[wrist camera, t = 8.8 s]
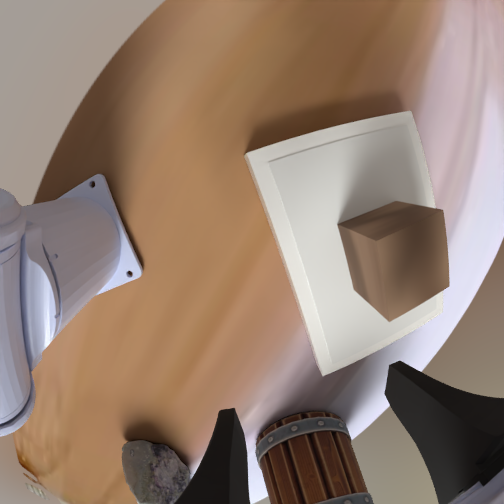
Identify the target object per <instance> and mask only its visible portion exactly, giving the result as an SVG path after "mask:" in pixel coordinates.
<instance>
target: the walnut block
mask: <svg viewBox="0 0 504 504" xmlns="http://www.w3.org/2000/svg"><path fill="white" fill-rule="evenodd" d="M337 226H338V229H339V233H340V237H341V240H342V244H343V248H344V252H345V256H346V260H347V264H348V268H349V272H350V276H351V280H352V285H353V289H354V291H356V292H357V293H358V294H359V295H360V296H361V297H362V298H363V299H364V300H366V301H367V302H368V303H369V304H370V305H371V306H372V307H373V308H374V309H375V310H377V311H378V312H379V313H380V314H381V315H382V316H383V317H384V318H385V319H386V320H387V321H388V322H391V321H392V320H394V319H396V318H398V317H400V316H402V315H403V314H405V313H407V312H409V311H410V310H412V309H414V308H415V307H417V306H419V305H420V304H422V303H424V302H425V301H427V300H429V299H430V298H432V297H433V296H435V295H437V294H438V293H440V292H441V291H443V290H444V289H446V288H447V287H449V261H448V247H447V237H446V228H445V220H444V213H443V210H441V209H436V208H431V207H426V206H421V205H416V204H411V203H405V202H400V201H394V202H392V203H389V204H387V205H384V206H382V207H379V208H377V209H374V210H372V211H369V212H367V213H364V214H362V215H359V216H357V217H354V218H352V219H349V220H346V221H344V222H341V223H339V224H337Z"/></svg>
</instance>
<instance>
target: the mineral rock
mask: <svg viewBox="0 0 504 504" xmlns="http://www.w3.org/2000/svg"><path fill="white" fill-rule="evenodd" d="M122 451H123V453H122V465H123V470H124V474H125V479H126V483H127V484H128V485H129V487H130V490H131V491H132V493H133V494H134V496H135V497H136V500H137V502H138V504H174V503H175V501H176V500H177V499H178V498H179V497H180V495H181V494H182V493H183V491H184V490H185V488H186V487H187V485H188V484H189V482H190V481H191V479H190V478H189V475H190V473H189V469H188V467H187V466H186V465H185V464H183V463H182V462H181V461H180V459H179V458H178V456H177V455H176V454H175V452H174V451H173V450H171V449H169V448H168V446H166V445H163V444H158V445H157V444H156V445H154V444H152V443H150V442H148V441H144V440H139V441H132V442H127V443H126V444H124V446H123V447H122Z"/></svg>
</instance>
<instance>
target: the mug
mask: <svg viewBox="0 0 504 504" xmlns="http://www.w3.org/2000/svg"><path fill="white" fill-rule="evenodd" d="M255 453H256V457H257V461H258V465H259V467H260V469H261V470H262V473H263V477H264V481H265V484H266V488H267V492H268V495H269V498H270V502H271V504H374V503H373V500H372V497H371V495H370V494H369V493H368V491H367V488H366V485H365V482H364V479H363V476H362V474H361V471H360V468H359V465H358V462H357V459H356V456H355V453H354V451H353V448H352V445H351V437H350V435H349V432H348V429H347V427H346V425H345V423H344V422H343V420H341V419H340V417H338V416H337V415H335V414H332V413H327V412H305V413H300V414H296V415H292V416H289V417H287V418H284V419H282V420H279V421H278V422H276V423H274V424H273V425H271V426H270V427H269V428H267V429H266V430H265V431H264V432H263V433H262V434H261V435H260V436H259V438H258V439H257V442H256V452H255Z"/></svg>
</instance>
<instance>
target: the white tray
mask: <svg viewBox="0 0 504 504" xmlns="http://www.w3.org/2000/svg"><path fill="white" fill-rule="evenodd" d="M244 157H245V160H246V162H247V165H248V168H249V170H250V173H251V176H252V178H253V181H254V184H255V186H256V189H257V192H258V195H259V197H260V200H261V203H262V205H263V208H264V211H265V214H266V217H267V219H268V222H269V225H270V228H271V230H272V233H273V236H274V239H275V242H276V245H277V247H278V250H279V253H280V256H281V259H282V262H283V265H284V268H285V270H286V273H287V276H288V279H289V282H290V285H291V288H292V291H293V294H294V297H295V300H296V303H297V306H298V309H299V312H300V315H301V318H302V321H303V324H304V327H305V330H306V333H307V336H308V339H309V343H310V346H311V349H312V352H313V355H314V358H315V361H316V364H317V366H318V368H319V370H320V372H321V374H322V376H325V375H327V374H330V373H332V372H334V371H337V370H339V369H341V368H343V367H345V366H348V365H350V364H352V363H354V362H356V361H358V360H360V359H362V358H364V357H366V356H368V355H370V354H372V353H374V352H376V351H378V350H380V349H382V348H384V347H386V346H388V345H389V344H391V343H393V342H395V341H397V340H399V339H400V338H402V337H404V336H406V335H407V334H409V333H411V332H412V331H414V330H416V329H417V328H419V327H421V326H422V325H424V324H425V323H427V322H429V321H430V320H432V319H433V318H435V317H436V316H438V315H439V314H441V313H442V312H443V291H441V292H440V293H438V294H437V295H435V296H433V297H432V298H430V299H429V300H427V301H425V302H424V303H422V304H420V305H419V306H417V307H415V308H414V309H412V310H410V311H409V312H407V313H405V314H403V315H402V316H400V317H398V318H396V319H394V320H392V321H391V322H388V321H387V320H386V319H385V318H384V317H383V316H382V315H381V314H380V313H379V312H378V311H377V310H375V309H374V308H373V307H372V306H371V305H370V304H369V303H368V302H367V301H366V300H364V299H363V298H362V297H361V296H360V295H359V294H358V293H357V292H356V291H354V289H353V285H352V280H351V276H350V272H349V268H348V264H347V260H346V256H345V252H344V248H343V244H342V240H341V237H340V233H339V229H338V226H337V224H339V223H341V222H344V221H346V220H349V219H352V218H354V217H357V216H359V215H362V214H364V213H367V212H369V211H372V210H374V209H377V208H379V207H382V206H384V205H387V204H389V203H392V202H394V201H400V202H405V203H411V204H416V205H421V206H426V207H431V208H436V207H435V201H434V195H433V190H432V185H431V180H430V176H429V171H428V167H427V163H426V159H425V155H424V151H423V148H422V144H421V140H420V137H419V134H418V130H417V127H416V124H415V121H414V118H413V115H412V112H411V111H405V112H400V113H394V114H389V115H383V116H378V117H373V118H369V119H364V120H360V121H355V122H351V123H347V124H342V125H338V126H334V127H330V128H327V129H323V130H319V131H315V132H312V133H308V134H305V135H301V136H298V137H294V138H291V139H288V140H284V141H281V142H278V143H275V144H272V145H269V146H266V147H263V148H260V149H257V150H254V151H251V152H248V153H246V154H245V156H244Z"/></svg>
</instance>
